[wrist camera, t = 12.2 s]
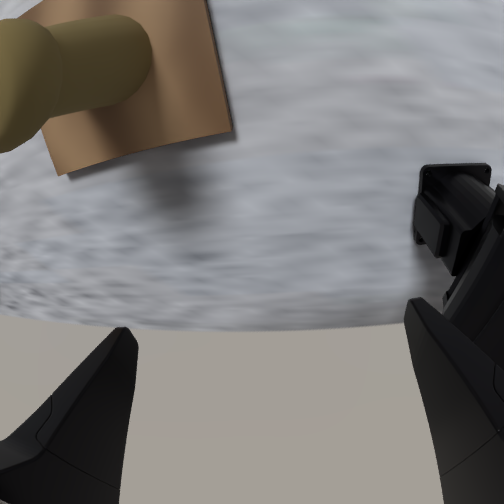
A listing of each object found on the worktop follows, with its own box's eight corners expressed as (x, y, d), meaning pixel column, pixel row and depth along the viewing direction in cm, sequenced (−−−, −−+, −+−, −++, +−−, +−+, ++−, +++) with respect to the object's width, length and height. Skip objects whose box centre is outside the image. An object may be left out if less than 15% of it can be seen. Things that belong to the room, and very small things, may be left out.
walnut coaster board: (193, -59, 11) (189, -64, 10) (232, 127, 18) (231, 131, 17) (23, 19, 12) (14, 20, 12) (64, 170, 20) (58, 176, 19)
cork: (173, 56, 15) (62, 74, 6) (106, 124, 17) (-11, 210, 8) (110, -4, 12) (-27, -19, 3) (51, 68, 14) (-82, 117, 6)
